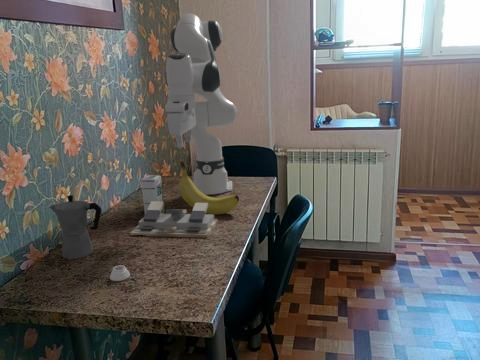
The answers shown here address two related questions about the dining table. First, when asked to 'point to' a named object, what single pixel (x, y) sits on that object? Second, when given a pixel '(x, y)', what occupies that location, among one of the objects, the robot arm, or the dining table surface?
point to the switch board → (174, 231)
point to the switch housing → (178, 221)
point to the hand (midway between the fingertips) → (184, 144)
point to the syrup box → (152, 190)
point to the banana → (204, 196)
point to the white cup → (119, 273)
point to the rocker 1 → (153, 211)
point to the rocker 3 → (198, 212)
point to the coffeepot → (76, 227)
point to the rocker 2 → (175, 212)
